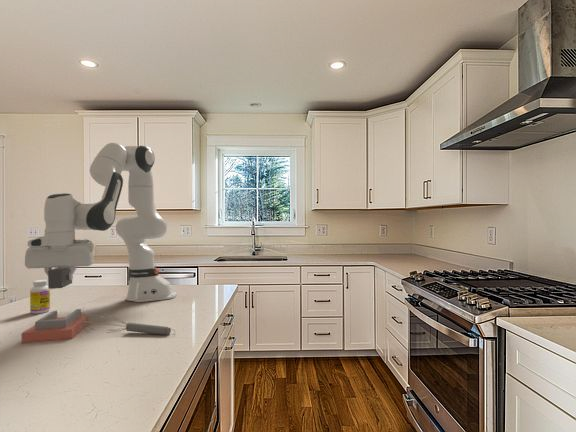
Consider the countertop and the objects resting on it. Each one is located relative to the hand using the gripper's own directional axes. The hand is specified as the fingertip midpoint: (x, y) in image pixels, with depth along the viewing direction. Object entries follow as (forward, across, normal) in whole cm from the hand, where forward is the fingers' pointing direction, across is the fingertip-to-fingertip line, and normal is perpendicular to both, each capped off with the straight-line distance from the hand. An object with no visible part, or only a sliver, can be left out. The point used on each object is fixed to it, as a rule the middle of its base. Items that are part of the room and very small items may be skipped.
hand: (60, 280), depth 119 cm
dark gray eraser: (+2, 0, 0) cm, 2 cm away
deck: (+17, 0, +3) cm, 17 cm away
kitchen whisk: (+18, -23, +9) cm, 30 cm away
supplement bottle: (+17, +18, -28) cm, 38 cm away
